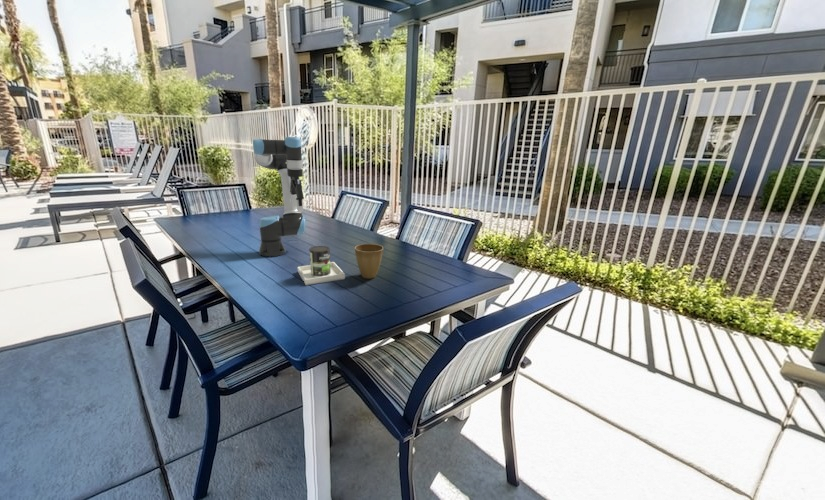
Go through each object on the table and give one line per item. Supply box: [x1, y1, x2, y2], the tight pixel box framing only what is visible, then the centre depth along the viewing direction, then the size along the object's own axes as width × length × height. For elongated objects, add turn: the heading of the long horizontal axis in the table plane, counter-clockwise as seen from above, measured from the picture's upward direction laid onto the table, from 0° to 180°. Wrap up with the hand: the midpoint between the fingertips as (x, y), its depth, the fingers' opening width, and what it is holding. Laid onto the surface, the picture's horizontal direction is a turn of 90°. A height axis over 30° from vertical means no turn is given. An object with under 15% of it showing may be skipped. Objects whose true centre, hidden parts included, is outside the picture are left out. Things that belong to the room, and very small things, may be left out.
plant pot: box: [354, 243, 384, 279], centre depth 179 cm, size 15×15×16 cm
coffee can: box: [308, 245, 331, 277], centre depth 178 cm, size 10×10×14 cm
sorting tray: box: [297, 261, 346, 286], centre depth 180 cm, size 20×20×3 cm
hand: (297, 209), depth 182 cm, fingers open, 13 cm apart
